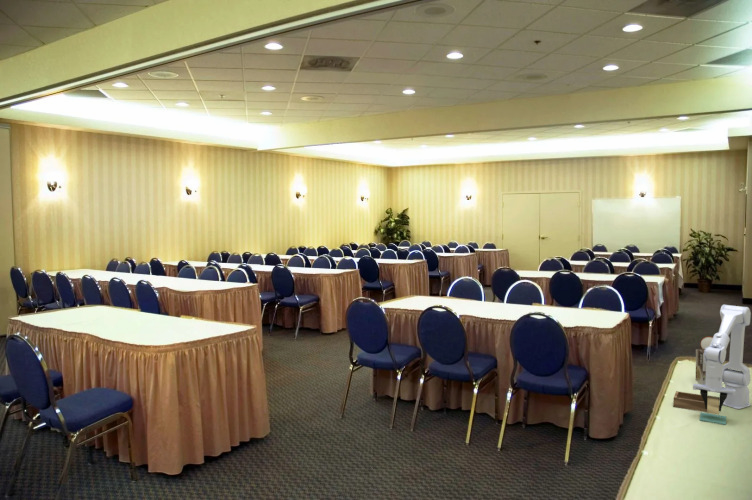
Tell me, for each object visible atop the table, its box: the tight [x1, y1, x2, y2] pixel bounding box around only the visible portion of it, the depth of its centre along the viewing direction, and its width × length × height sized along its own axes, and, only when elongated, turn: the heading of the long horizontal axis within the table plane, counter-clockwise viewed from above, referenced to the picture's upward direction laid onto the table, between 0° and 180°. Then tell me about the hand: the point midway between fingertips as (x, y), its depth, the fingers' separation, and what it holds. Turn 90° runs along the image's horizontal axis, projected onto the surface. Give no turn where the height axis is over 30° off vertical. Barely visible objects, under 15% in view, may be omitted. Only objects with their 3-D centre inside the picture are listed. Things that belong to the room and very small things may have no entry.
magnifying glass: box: [699, 335, 713, 349], centre depth 277 cm, size 9×2×20 cm, turn 53°
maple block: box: [706, 395, 720, 415], centre depth 221 cm, size 4×4×6 cm
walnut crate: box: [672, 390, 708, 413], centre depth 236 cm, size 10×14×4 cm
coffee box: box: [695, 348, 706, 385], centre depth 265 cm, size 9×6×16 cm
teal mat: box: [699, 411, 727, 426], centre depth 222 cm, size 9×9×1 cm
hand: (713, 409), depth 221 cm, fingers closed on maple block, 4 cm apart
